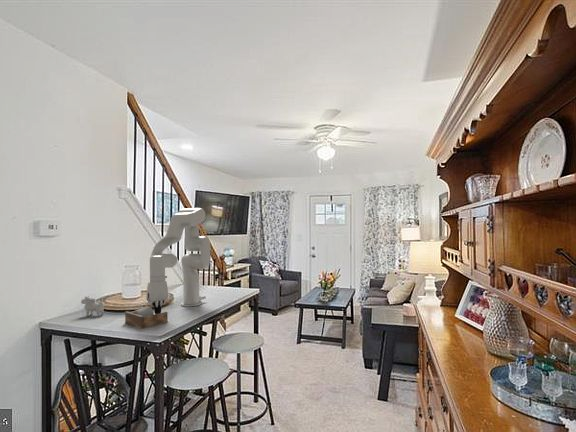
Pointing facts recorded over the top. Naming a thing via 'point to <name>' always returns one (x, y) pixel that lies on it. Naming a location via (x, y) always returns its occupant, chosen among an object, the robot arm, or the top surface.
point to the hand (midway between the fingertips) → (157, 313)
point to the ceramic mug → (144, 311)
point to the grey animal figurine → (92, 306)
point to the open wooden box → (145, 319)
